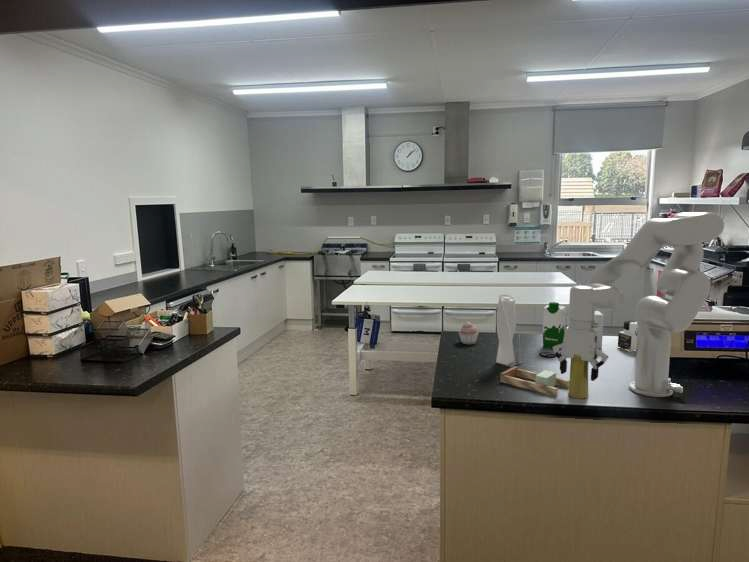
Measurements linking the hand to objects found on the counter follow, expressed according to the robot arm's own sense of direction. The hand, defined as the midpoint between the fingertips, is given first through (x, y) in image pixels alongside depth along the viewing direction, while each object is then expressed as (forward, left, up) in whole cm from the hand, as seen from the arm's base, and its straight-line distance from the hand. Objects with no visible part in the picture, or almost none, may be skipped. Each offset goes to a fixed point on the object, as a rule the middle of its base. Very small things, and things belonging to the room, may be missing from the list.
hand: (578, 376), depth 157 cm
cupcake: (+62, -31, -7) cm, 70 cm away
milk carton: (+30, -49, -7) cm, 58 cm away
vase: (0, 0, -7) cm, 7 cm away
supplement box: (+19, -61, -7) cm, 64 cm away
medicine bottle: (+4, -67, -7) cm, 68 cm away
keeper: (+11, 0, -7) cm, 13 cm away
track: (+15, 0, -7) cm, 16 cm away
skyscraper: (+34, -15, -7) cm, 38 cm away
